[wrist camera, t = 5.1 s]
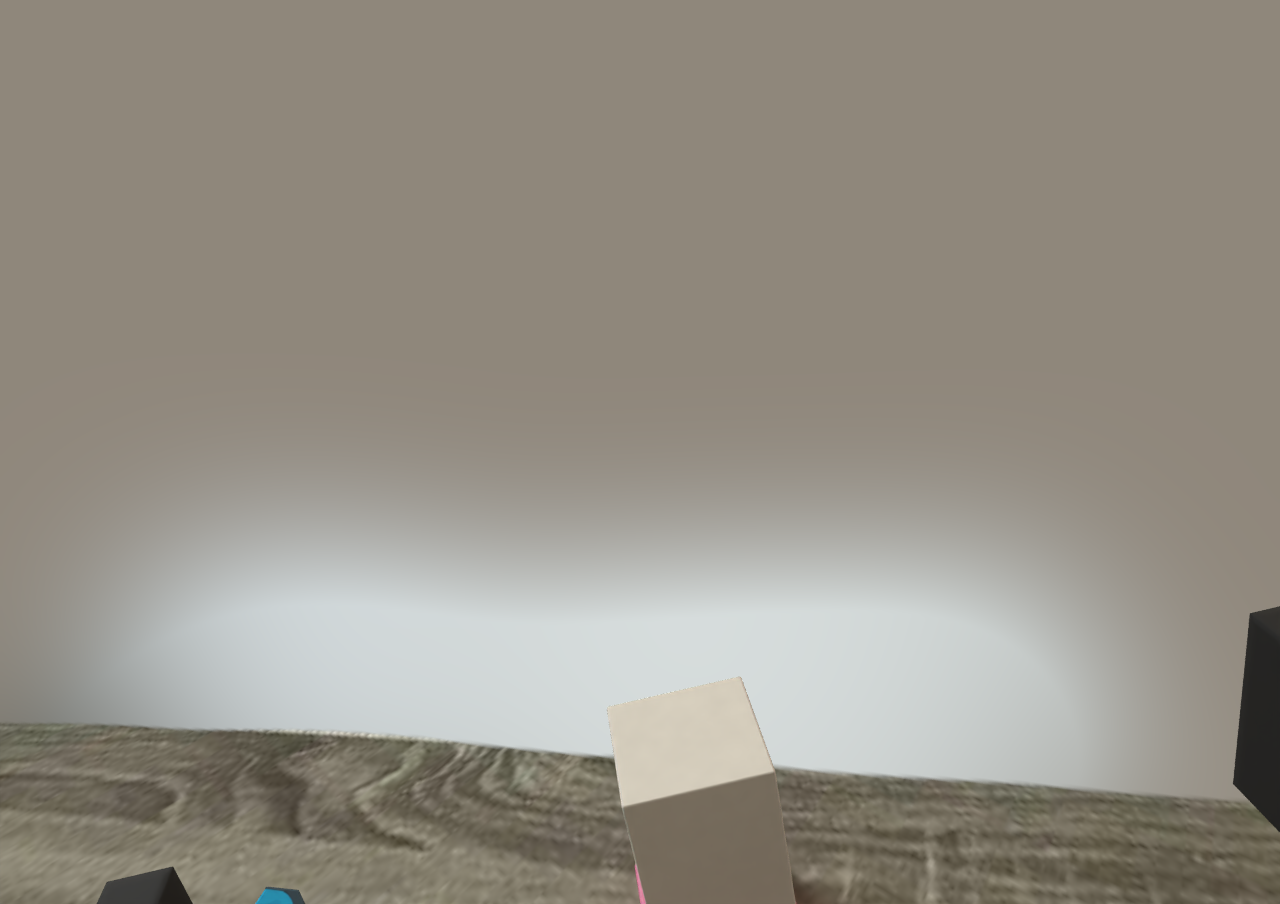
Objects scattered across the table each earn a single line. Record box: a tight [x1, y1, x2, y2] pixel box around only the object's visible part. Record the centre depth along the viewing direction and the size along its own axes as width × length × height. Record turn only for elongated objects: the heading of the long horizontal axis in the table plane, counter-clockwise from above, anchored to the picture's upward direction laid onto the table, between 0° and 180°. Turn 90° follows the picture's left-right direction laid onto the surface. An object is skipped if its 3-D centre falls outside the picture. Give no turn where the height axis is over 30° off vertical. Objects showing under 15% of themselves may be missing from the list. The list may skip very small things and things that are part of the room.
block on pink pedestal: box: [607, 677, 797, 904], centre depth 26 cm, size 8×4×10 cm, turn 7°
